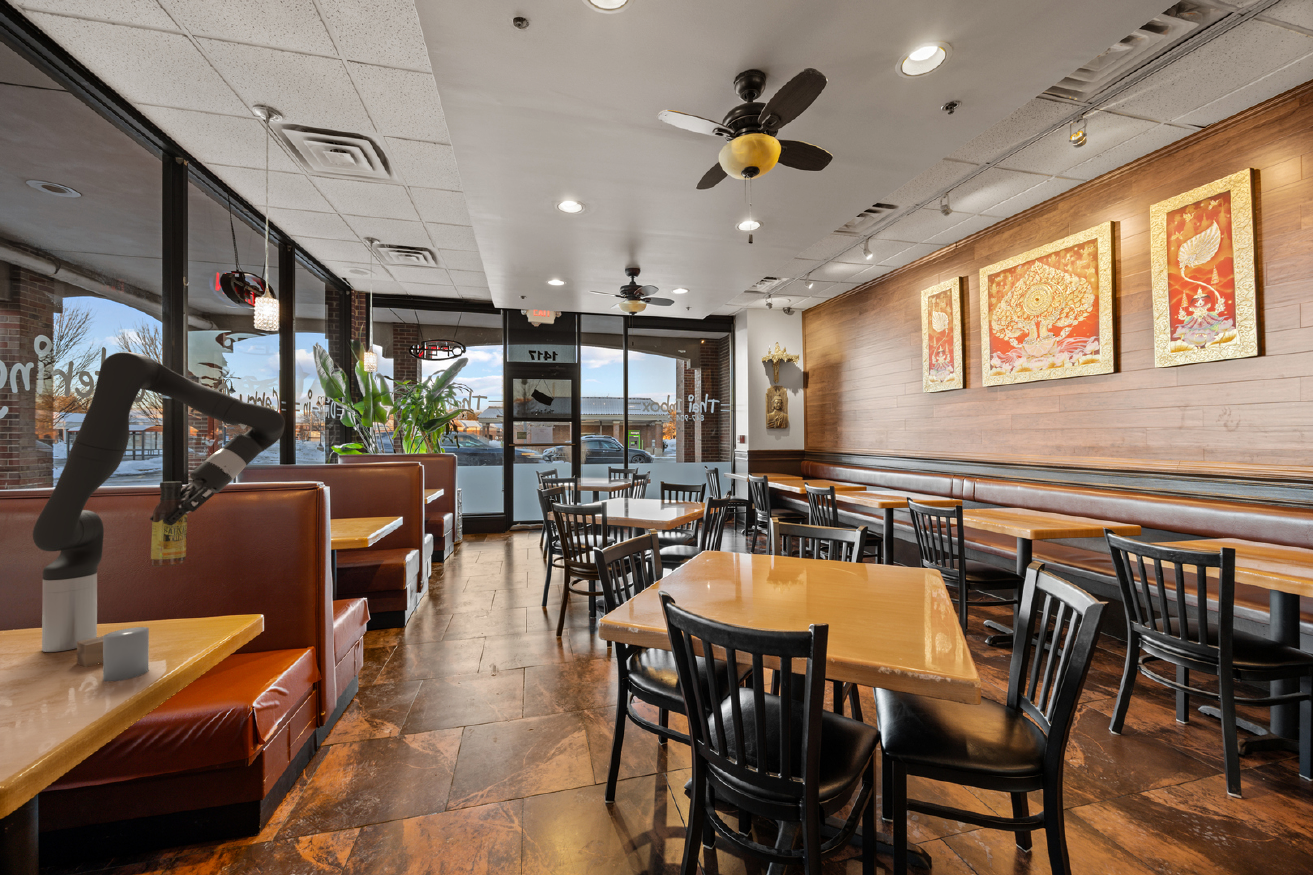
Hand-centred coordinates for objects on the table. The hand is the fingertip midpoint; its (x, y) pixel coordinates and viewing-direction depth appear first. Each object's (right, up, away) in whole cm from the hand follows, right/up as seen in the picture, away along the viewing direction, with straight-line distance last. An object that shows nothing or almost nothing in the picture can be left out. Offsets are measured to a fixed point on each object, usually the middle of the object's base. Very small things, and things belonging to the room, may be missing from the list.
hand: (160, 522), depth 128 cm
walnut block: (-11, -31, -4) cm, 33 cm away
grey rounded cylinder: (+3, -31, -12) cm, 33 cm away
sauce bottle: (+1, -11, +1) cm, 11 cm away
